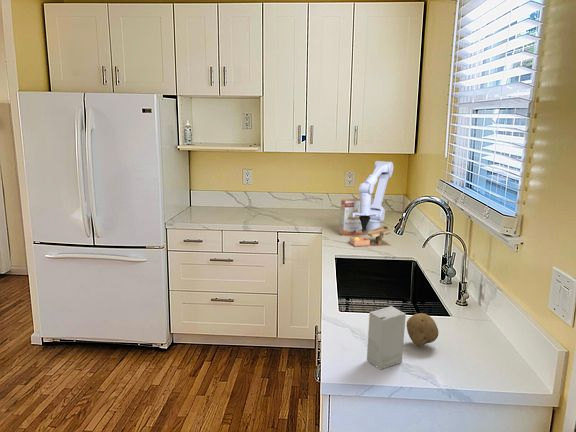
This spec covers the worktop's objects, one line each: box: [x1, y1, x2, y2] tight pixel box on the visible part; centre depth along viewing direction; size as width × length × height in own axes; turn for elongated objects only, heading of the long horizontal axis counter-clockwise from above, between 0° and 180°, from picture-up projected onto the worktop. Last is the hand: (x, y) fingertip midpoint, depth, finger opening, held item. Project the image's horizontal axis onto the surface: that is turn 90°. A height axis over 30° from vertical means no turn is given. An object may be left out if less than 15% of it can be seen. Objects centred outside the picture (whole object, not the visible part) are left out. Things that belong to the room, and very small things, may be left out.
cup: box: [349, 236, 371, 247], centre depth 247 cm, size 7×8×3 cm
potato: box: [406, 312, 440, 348], centre depth 138 cm, size 9×9×10 cm
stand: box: [348, 232, 392, 248], centre depth 248 cm, size 9×21×8 cm, turn 103°
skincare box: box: [366, 305, 407, 370], centre depth 127 cm, size 8×6×15 cm
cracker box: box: [338, 198, 365, 236], centre depth 270 cm, size 14×6×21 cm, turn 109°
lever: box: [361, 224, 391, 239], centre depth 252 cm, size 13×11×4 cm
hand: (363, 229), depth 256 cm, fingers closed
